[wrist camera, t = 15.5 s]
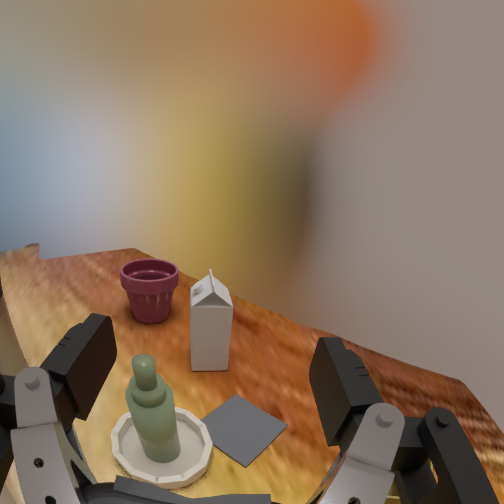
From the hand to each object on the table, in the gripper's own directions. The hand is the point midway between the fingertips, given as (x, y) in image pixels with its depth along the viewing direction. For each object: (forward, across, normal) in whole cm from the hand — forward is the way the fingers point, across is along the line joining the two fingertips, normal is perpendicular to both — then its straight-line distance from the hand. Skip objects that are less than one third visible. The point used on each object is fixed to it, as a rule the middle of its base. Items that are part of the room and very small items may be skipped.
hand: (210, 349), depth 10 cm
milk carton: (+36, +3, +32) cm, 48 cm away
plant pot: (+50, +19, +32) cm, 63 cm away
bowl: (+12, +8, +32) cm, 35 cm away
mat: (+18, -4, +32) cm, 37 cm away
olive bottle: (+12, +8, +31) cm, 34 cm away
